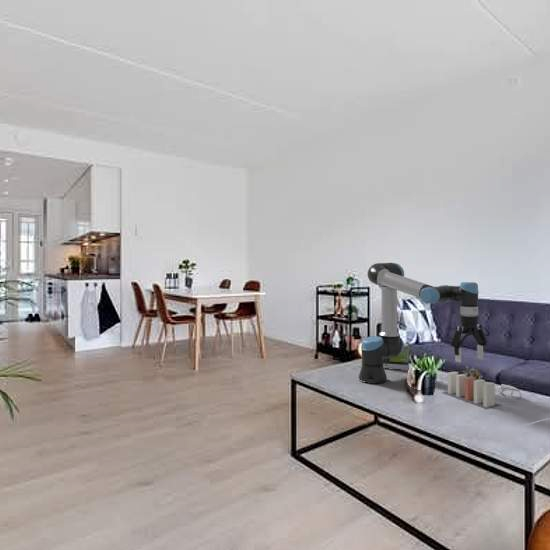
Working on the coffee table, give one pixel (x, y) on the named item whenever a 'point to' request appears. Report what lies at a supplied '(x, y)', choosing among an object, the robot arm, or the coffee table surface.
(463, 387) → the domino
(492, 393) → the domino
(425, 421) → the coffee table surface
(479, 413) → the coffee table surface
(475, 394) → the domino
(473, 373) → the passion flower
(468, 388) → the domino
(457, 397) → the mat
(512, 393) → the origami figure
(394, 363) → the tea box
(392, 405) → the coffee table surface
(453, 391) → the domino
